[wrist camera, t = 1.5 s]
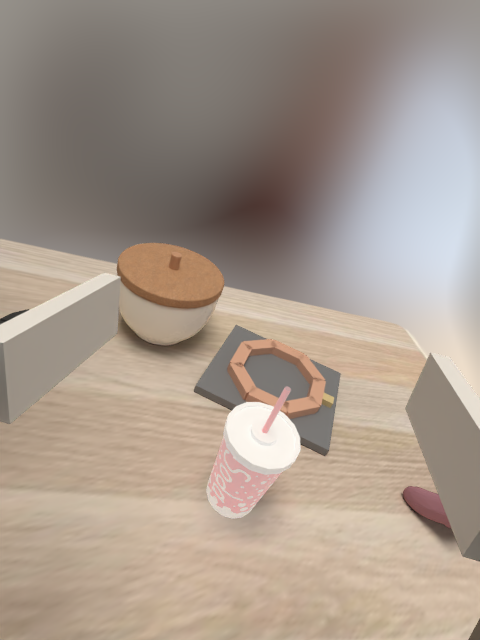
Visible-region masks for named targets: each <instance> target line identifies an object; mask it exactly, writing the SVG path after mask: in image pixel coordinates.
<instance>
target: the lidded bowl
mask: <svg viewBox="0 0 480 640" xmlns="http://www.w3.org/2000/svg"><path fill="white" fill-rule="evenodd" d="M117 273H118V274H117V276H120V277H121V281H120V298H119V310H120V313H121V315H122V317H123V319H124V321H125V322H126V323H127V325H128V326H129V327H130V328H131V329H132V330H133V331H134V332H135V334H136V335H137V336H138V337H140V338H141V339H143V340H144V341H146V342H149V343H151V344H155V345H162V346H168V345H174V344H177V343H179V342H181V341H183V340H186V339H188V338H190V337H192V336H194V335H195V334H197V333H198V332H199V331H200V330H201V329H202V328H203V327H204V326H205V325H206V323H207V322H208V320H209V319H210V317H211V316H212V314H213V312H214V310H215V307H216V304H217V302H218V298H219V297H220V295H221V293H222V290H223V287H224V279H223V275H222V274H221V272H220V270H219V269H218V268H217V267H216V266H215V265H214V264H213V263H212V262H211V261H209V260H208V259H207V258H205V257H203V256H201V255H199V254H198V253H196V252H193V251H191V250H188V249H185V248H182V247H178V246H174V245H169V244H162V243H144V244H138V245H134V246H132V247H129V248H127V249H126V250H125V251H123V252H122V253H121V255H120V256H119V259H118V264H117Z"/></svg>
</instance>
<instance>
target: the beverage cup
mask: <svg viewBox="0 0 480 640" xmlns="http://www.w3.org/2000/svg"><path fill="white" fill-rule="evenodd" d="M290 391H291V388H290V387H288V386H286V387H285V388H284V390H283V392H282V393H281V395H280V397H279V399H278V401H277V403H276V405H275V406H274V407H273V406H271V405H267V404H264V403H261V402H246V403H243V404H241V405H238V406H236V407H235V408H234V409H233V410H232V411H231V413H230V414H229V415H228V417H227V421H226V423H225V428H224V433H223V435H224V437H223V440H222V443H221V446H220V449H219V452H218V455H217V458H216V460H215V463H214V466H213V469H212V472H211V475H210V478H209V481H208V485H207V490H206V491H207V496H208V501H209V502H210V504H211V505H212V507H213V509H214V510H216V511H217V512H218V513H219V514H221V515H222V516H225V517H228V518H232V519H234V518H241V517H243V516H245V515H246V514H248V513H249V512H250V511H251V510H252V509H253V507H254V506H255V505H256V504H257V502H258V501H259V500H260V499H261V497H262V496H263V495H264V494H265V492H266V491H267V490H268V489H269V488H270V486H271V485H272V484H273V483H274V481H275V480H276V479H277V478H278V476H279V475H280V474H281V473H282V472H283V471H285V470H286V469H288V468H289V467H291V465H292V464H293V463H294V462H295V460H296V458H297V456H298V454H299V452H300V436H299V434H298V432H297V429H296V427H295V425H294V424H293V423H292V421H291V420H290V419H289V418H288V417H287V416H286V415H285V414H284V413H283V412H281V411H280V409H281V407H282V406H283V404H284V402H285V400H286V398H287V397H288V395H289V393H290Z"/></svg>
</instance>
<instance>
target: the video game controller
mask: <svg viewBox="0 0 480 640" xmlns="http://www.w3.org/2000/svg"><path fill="white" fill-rule="evenodd" d="M403 496H404V499H405V500H406V502H407V503H408V505H409V506H410V507H411V508H412V509H414V510H415V511H416V512H418V513H419V514H420V515H422V516H424V517H426V518H428V519H430V520H433V521H435V522H438V523H441V524H444V525H445V526H446V527H448V528H451V526H450V523H449V520H448V518H447V515H446V513H445V510H444V507H443V505H442V502H441V500H440V497H439V494H436V493H433V492H430V491H427V490H425V489H422V488H419V487H413V486H409V487H407V488H405V490H404V492H403Z"/></svg>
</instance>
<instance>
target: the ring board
mask: <svg viewBox="0 0 480 640" xmlns="http://www.w3.org/2000/svg"><path fill="white" fill-rule="evenodd" d="M339 380H340V373H339V372H337V371H334V370H332V369H330V368H328V367H326V366H324V365H321V364H319V363H317V362H315V361H313V360H311V359H309V358H308V357H307V355H304V353H302V352H300V351H298V350H295V349H293V348H291V347H289V346H287V345H285V344H282V343H280V342H278V341H276V340H272V339H266V338H263V337H261V336H259V335H257V334H255V333H253V332H251V331H248V330H246V329H244V328H242V327H240V326H238V325H236V326H235V327H234V329H233V330H232V332H231V333H230V335H229V336H228V338H227V339H226V341H225V342H224V344H223V345H222V347H221V348H220V350H219V351H218V353H217V354H216V356H215V357H214V359H213V360H212V362H211V363H210V365H209V366H208V368H207V369H206V371H205V372H204V374H203V375H202V377H201V378H200V380H199V381H198V383H197V384H196V386H195V389H194V392H196V393H198V394H200V395H202V396H204V397H206V398H208V399H210V400H212V401H214V402H216V403H218V404H220V405H222V406H224V407H227V408H229V409H231V410H233V409H234V408H235V407H236V406H238V405H241V404H243V403H246V402H261V403H264V404H267V405H271V406H273V407H274V406H275V405H276V403H277V401H278V399H279V397H280V395H281V393H282V392H283V390H284V388H285V387H286V386H288V387H290V388H291V391H290V393H289V395H288V397H287V398H286V400H285V402H284V404H283V406H282V407H281V409H280V411H281V412H283V413H284V414H285V415H286V416H287V417H288V418H289V419H290V420H291V421H292V423H293V424H294V425H295V427H296V429H297V432H298V434H299V436H300V444H302V445H304V446H306V447H308V448H310V449H312V450H314V451H316V452H318V453H320V454H322V455H324V456H325V455H326V454H327V453H328V451H329V447H330V440H331V433H332V427H333V420H334V413H335V407H336V400H337V393H338V386H339Z"/></svg>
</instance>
